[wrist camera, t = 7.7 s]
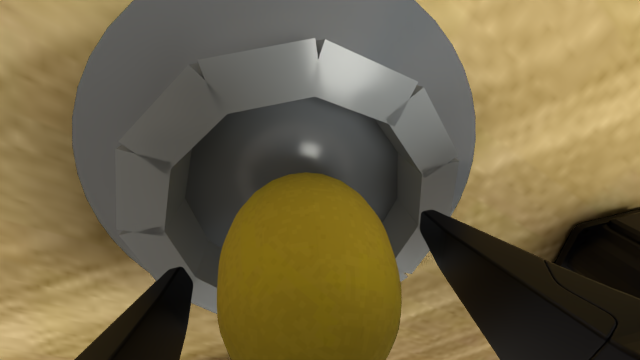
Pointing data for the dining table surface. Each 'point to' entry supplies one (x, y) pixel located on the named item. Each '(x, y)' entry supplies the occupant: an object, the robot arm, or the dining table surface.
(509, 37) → the dining table surface
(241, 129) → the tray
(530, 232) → the dining table surface
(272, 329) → the lemon
